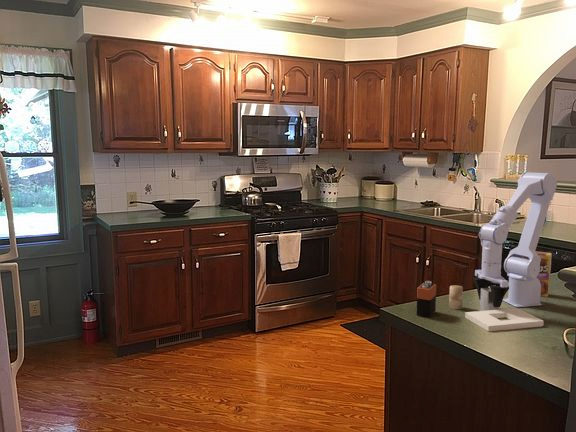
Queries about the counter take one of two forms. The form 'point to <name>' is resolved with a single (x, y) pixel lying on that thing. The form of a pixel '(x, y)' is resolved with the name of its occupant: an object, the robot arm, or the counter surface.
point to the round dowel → (455, 297)
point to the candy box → (544, 272)
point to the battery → (426, 299)
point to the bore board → (493, 324)
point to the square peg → (486, 300)
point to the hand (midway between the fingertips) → (489, 303)
